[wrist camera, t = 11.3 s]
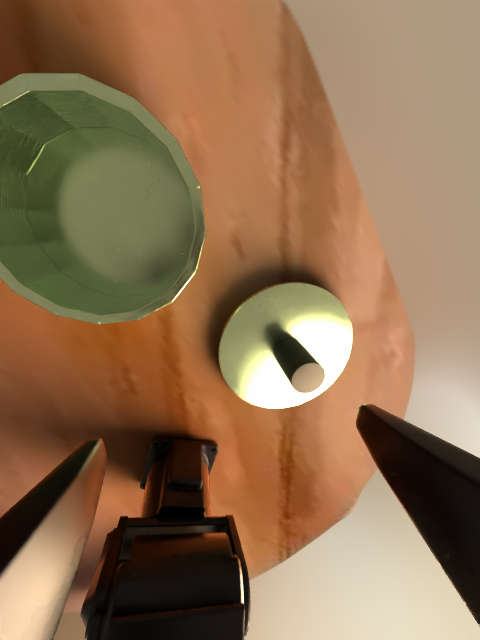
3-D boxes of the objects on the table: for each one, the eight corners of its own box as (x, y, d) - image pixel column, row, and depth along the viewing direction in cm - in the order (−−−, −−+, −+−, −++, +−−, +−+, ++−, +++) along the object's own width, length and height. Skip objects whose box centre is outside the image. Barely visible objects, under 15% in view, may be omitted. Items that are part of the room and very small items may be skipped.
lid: (314, 408, 25) (342, 450, 20) (201, 389, 22) (203, 434, 17) (366, 301, 22) (416, 321, 17) (242, 261, 18) (258, 272, 14)
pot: (181, 317, 19) (177, 341, 15) (16, 278, 16) (-45, 294, 12) (221, 163, 16) (230, 140, 12) (24, 80, 13) (-56, 11, 9)
